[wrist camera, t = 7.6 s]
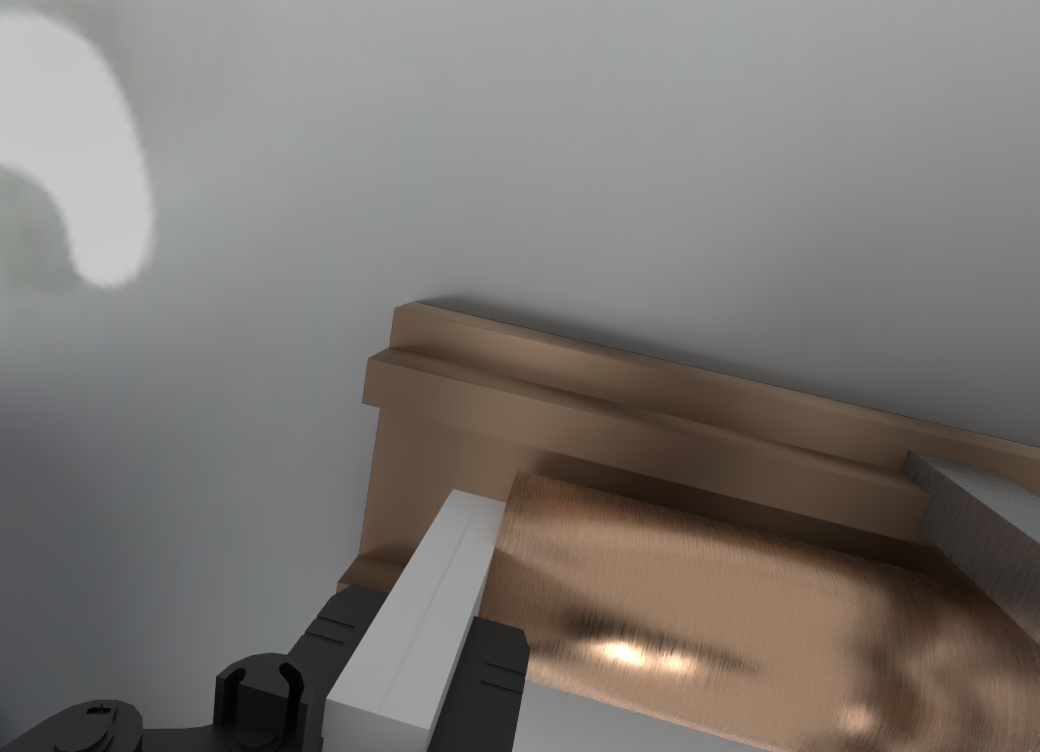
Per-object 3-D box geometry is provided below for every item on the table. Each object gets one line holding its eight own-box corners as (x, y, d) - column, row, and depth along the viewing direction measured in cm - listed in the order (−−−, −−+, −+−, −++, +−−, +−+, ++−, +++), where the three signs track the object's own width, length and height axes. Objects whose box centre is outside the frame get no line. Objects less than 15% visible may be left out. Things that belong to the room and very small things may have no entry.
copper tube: (495, 586, 17) (456, 710, 12) (528, 444, 16) (496, 524, 11) (1232, 790, 15) (1500, 1024, 10) (1332, 645, 14) (1681, 839, 9)
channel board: (369, 588, 19) (328, 648, 16) (413, 301, 17) (373, 315, 14) (1230, 834, 17) (1354, 954, 14) (1447, 542, 14) (1655, 619, 11)
